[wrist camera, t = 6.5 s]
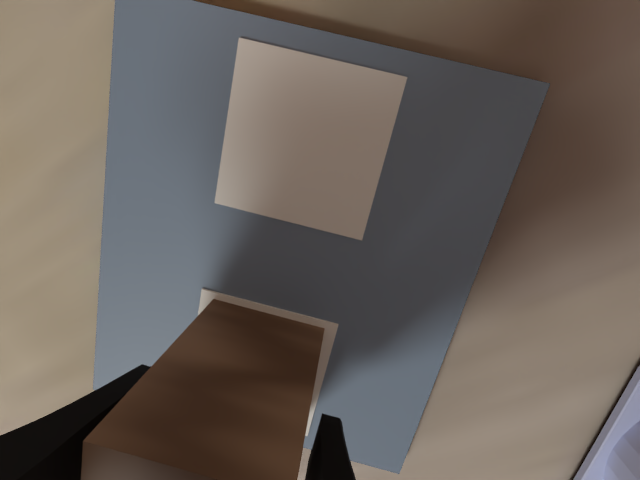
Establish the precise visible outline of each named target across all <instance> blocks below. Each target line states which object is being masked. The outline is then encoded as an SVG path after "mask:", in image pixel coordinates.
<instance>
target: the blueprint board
mask: <svg viewBox="0 0 640 480" xmlns="http://www.w3.org/2000/svg"><path fill="white" fill-rule="evenodd" d="M549 86H550V83H546V82H541V81H537V80H533V79H529V78H524V77H520V76H516V75H511V74H507V73H503V72H498V71H494V70H490V69H485V68H481V67H477V66H473V65H468V64H464V63H460V62H455V61H451V60H447V59H442V58H438V57H434V56H430V55H425V54H421V53H417V52H412V51H408V50H404V49H399V48H395V47H391V46H386V45H382V44H378V43H374V42H369V41H365V40H361V39H356V38H352V37H348V36H343V35H339V34H335V33H330V32H326V31H322V30H318V29H313V28H309V27H305V26H300V25H296V24H292V23H287V22H283V21H279V20H275V19H270V18H266V17H262V16H257V15H253V14H249V13H244V12H240V11H236V10H231V9H227V8H223V7H219V6H214V5H210V4H206V3H201V2H197V1H193V0H115V11H114V29H113V47H112V64H111V82H110V99H109V117H108V135H107V152H106V170H105V187H104V205H103V223H102V240H101V258H100V276H99V293H98V311H97V328H96V346H95V364H94V381H93V389H94V390H97V389H99V388H101V387H102V386H104V385H106V384H108V383H109V382H111V381H113V380H115V379H116V378H118V377H120V376H122V375H124V374H125V373H127V372H129V371H131V370H132V369H134V368H136V367H138V366H140V365H142V364H143V365H147V366H150V367H151V366H152V365H153V364H154V363H155V362H156V361H157V360H158V359H159V358H160V357H161V355H162V354H163V353H164V352H165V351H166V350H167V349H168V348H169V347H170V346H171V345H172V343H173V342H174V341H175V340H176V339H177V338H178V337H179V336H180V335H181V334H182V333H183V332H184V330H185V329H186V328H187V327H188V326H189V325H190V324H191V323H192V322H193V321H194V320H195V318H196V317H197V316H198V315H199V314H200V313H201V312H202V311H203V310H204V309H205V308H206V306H207V305H208V304H209V303H210V302H211V301H212V300H213V299H216V300H220V301H224V302H227V303H231V304H235V305H239V306H242V307H246V308H250V309H254V310H257V311H261V312H265V313H269V314H272V315H276V316H280V317H284V318H288V319H291V320H295V321H299V322H303V323H306V324H310V325H314V326H318V327H321V328H325V330H324V335H323V341H322V346H321V352H320V357H319V363H318V368H317V374H316V379H315V384H314V390H313V395H312V401H311V406H310V412H309V417H308V423H307V428H306V434H305V439H304V445H303V448H307V449H311V450H312V447H313V443H314V440H315V436H316V433H317V429H318V426H319V422H320V419H321V416H322V413H323V414H327V415H330V416H334V417H338V418H340V419H341V421H342V425H343V432H344V437H345V442H346V446H347V450H348V454H349V458H350V461H354V462H358V463H361V464H365V465H368V466H372V467H376V468H379V469H383V470H387V471H390V472H394V473H397V474H399V473H400V470H401V468H402V465H403V463H404V460H405V458H406V455H407V452H408V450H409V447H410V445H411V442H412V439H413V437H414V434H415V432H416V429H417V427H418V424H419V421H420V419H421V416H422V414H423V411H424V408H425V406H426V403H427V401H428V398H429V396H430V393H431V390H432V388H433V385H434V383H435V380H436V377H437V375H438V372H439V370H440V367H441V365H442V362H443V359H444V357H445V354H446V352H447V349H448V346H449V344H450V341H451V339H452V336H453V334H454V331H455V328H456V326H457V323H458V321H459V318H460V315H461V313H462V310H463V308H464V305H465V303H466V300H467V297H468V295H469V292H470V290H471V287H472V284H473V282H474V279H475V277H476V274H477V272H478V269H479V266H480V264H481V261H482V259H483V256H484V253H485V251H486V248H487V246H488V243H489V241H490V238H491V235H492V233H493V230H494V228H495V225H496V222H497V220H498V217H499V215H500V212H501V210H502V207H503V204H504V202H505V199H506V197H507V194H508V191H509V189H510V186H511V184H512V181H513V179H514V176H515V173H516V171H517V168H518V166H519V163H520V160H521V158H522V155H523V153H524V150H525V148H526V145H527V142H528V140H529V137H530V135H531V132H532V129H533V127H534V124H535V122H536V119H537V117H538V114H539V111H540V109H541V106H542V104H543V101H544V98H545V96H546V93H547V91H548V88H549Z"/></svg>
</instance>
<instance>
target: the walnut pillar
mask: <svg viewBox="0 0 640 480" xmlns="http://www.w3.org/2000/svg"><path fill="white" fill-rule="evenodd" d="M324 330H325V328H321V327H318V326H314V325H310V324H306V323H303V322H299V321H295V320H291V319H288V318H284V317H280V316H276V315H272V314H269V313H265V312H261V311H257V310H254V309H250V308H246V307H242V306H239V305H235V304H231V303H227V302H224V301H220V300H216V299H213V300H212V301H211V302H210V303H209V304H208V305H207V306H206V308H205V309H204V310H203V311H202V312H201V313H200V314H199V315H198V316H197V317H196V318H195V320H194V321H193V322H192V323H191V324H190V325H189V326H188V327H187V328H186V329H185V330H184V332H183V333H182V334H181V335H180V336H179V337H178V338H177V339H176V340H175V341H174V342H173V343H172V345H171V346H170V347H169V348H168V349H167V350H166V351H165V352H164V353H163V354H162V355H161V357H160V358H159V359H158V360H157V361H156V362H155V363H154V364H153V365H152V366H151V367H150V369H149V370H148V371H147V372H146V373H145V374H144V375H143V376H142V377H141V378H140V379H139V381H138V382H137V383H136V384H135V385H134V386H133V387H132V388H131V389H130V390H129V391H128V392H127V394H126V395H125V396H124V397H123V398H122V399H121V400H120V401H119V402H118V403H117V404H116V406H115V407H114V408H113V409H112V410H111V411H110V412H109V413H108V414H107V415H106V416H105V418H104V419H103V420H102V421H101V422H100V423H99V424H98V425H97V426H96V427H95V428H94V430H93V431H92V432H91V433H90V434H89V435H88V436H87V437H86V438H85V439H84V440H83V450H82V467H81V480H297V477H298V472H299V467H300V461H301V456H302V450H303V445H304V439H305V434H306V428H307V423H308V417H309V412H310V406H311V401H312V395H313V390H314V384H315V379H316V374H317V368H318V363H319V357H320V352H321V346H322V341H323V335H324Z"/></svg>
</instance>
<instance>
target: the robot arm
mask: <svg viewBox="0 0 640 480" xmlns="http://www.w3.org/2000/svg"><path fill="white" fill-rule="evenodd" d="M149 369H150V366H147V365H143V364H142V365H140V366H138V367H136V368H134V369H132V370H131V371H129V372H127V373H125V374H124V375H122V376H120V377H118V378H116V379H115V380H113V381H111V382H109V383H108V384H106V385H104V386H102V387H101V388H99V389H97V390H95V391H93V392H91V393H90V394H88V395H86V396H84V397H82V398H80V399H79V400H77V401H75V402H73V403H71V404H69V405H67V406H65V407H63V408H61V409H59V410H57V411H55V412H53V413H51V414H49V415H47V416H45V417H42V418H40V419H38V420H36V421H34V422H31V423H29V424H27V425H25V426H22V427H20V428H18V429H15V430H13V431H10V432H8V433H6V434H3V435H1V436H0V480H81V467H82V450H83V440H84V439H85V438H86V437H87V436H88V435H89V434H90V433H91V432H92V431H93V430H94V428H95V427H96V426H97V425H98V424H99V423H100V422H101V421H102V420H103V419H104V418H105V416H106V415H107V414H108V413H109V412H110V411H111V410H112V409H113V408H114V407H115V406H116V404H117V403H118V402H119V401H120V400H121V399H122V398H123V397H124V396H125V395H126V394H127V392H128V391H129V390H130V389H131V388H132V387H133V386H134V385H135V384H136V383H137V382H138V381H139V379H140V378H141V377H142V376H143V375H144V374H145V373H146V372H147V371H148V370H149ZM305 480H356V479H355V476H354V472H353V469H352V466H351V462H350V458H349V454H348V450H347V446H346V442H345V437H344V432H343V425H342V421H341V419H340V418H338V417H334V416H330V415H327V414H323V413H322V416H321V419H320V422H319V426H318V429H317V433H316V436H315V440H314V443H313V447H312V450H311V454H310V457H309V461H308V467H307V472H306V478H305ZM573 480H640V365H639V367H638V368H637V370H636V372H635V373H634V375H633V377H632V379H631V380H630V382H629V384H628V386H627V387H626V389H625V391H624V392H623V394H622V396H621V398H620V399H619V401H618V403H617V405H616V406H615V408H614V410H613V412H612V413H611V415H610V417H609V419H608V420H607V422H606V424H605V425H604V427H603V429H602V431H601V432H600V434H599V436H598V438H597V439H596V441H595V443H594V445H593V446H592V448H591V450H590V452H589V453H588V455H587V457H586V458H585V460H584V462H583V464H582V465H581V467H580V469H579V471H578V472H577V474H576V476H575V478H574V479H573Z"/></svg>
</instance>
